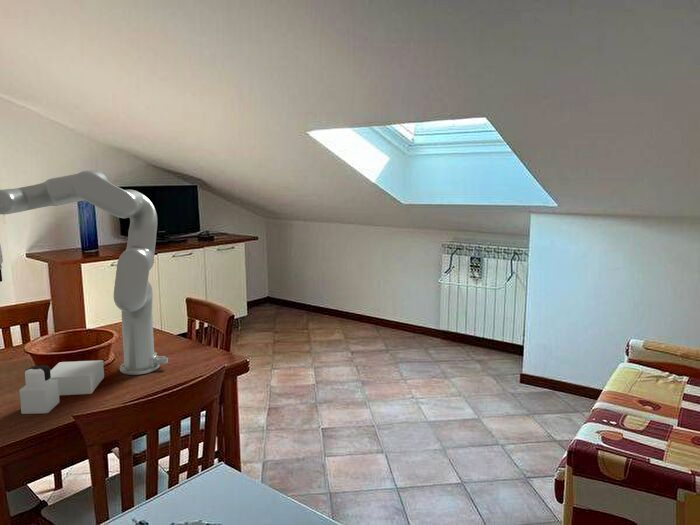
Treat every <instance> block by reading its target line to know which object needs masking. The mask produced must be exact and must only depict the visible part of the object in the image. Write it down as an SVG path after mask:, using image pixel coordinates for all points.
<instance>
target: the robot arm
mask: <svg viewBox="0 0 700 525" xmlns="http://www.w3.org/2000/svg"><path fill="white" fill-rule="evenodd" d="M83 201H85V202H88V203H89V204H91V205H93V206H95V207H97V208H99V209H101V210H103V211H105V212H106V213H108V214H110V215H112V216H113V217H117V218H119V219H120V218H121V219H128V218H129V227H128V233H127V234H128V235H127V241H126V242H127V243H126V249H125V250H124V251H123V252H122V253H121V254H120V256H119V258H118V260H117V263H116V270H115V280H114V287H113V288H114V289H113V301H114V304H115V306H116V307H117V308H118V310H121V332H122V346H123V347H122V348H123V362H124V363H122V364H121V365H119V372H120V373H122V374H124V375H131V376H139V375H145V374H149V373H151V372H154V371H156V370H158V369H159V368H160V364H168V361H169V359H168V357H166V355H157V354H158V353H157V351H155V343H154V342H155V341H154V325H153V324H154V321H153V320H154V318H153V296H154V295H153V288H152V285H151V283H150V281H149V275H150V270H151V269H152V268H153V266H154V263H155V253H156V252H155V250H156V243H157V232H158V214H157V210H156V208H155V205H154V204H153V202H152V201H151V200H150V199H149V198H148V197H147V196H146V195H145V194H144V193H142V192H139V191H138V190H134V189H123V188H121V187H119V186H117V185H115V184H114V183H111V182H110V181H109V180H108V178H107V176H106V175H105V174H104V173H103V172H101V171H97V170H84V171H81V172H77V173H74V174H68V175H62V176H58V177H52V178H49V179H47V180H45V181H44V182H41V183H37V184H33V185H27V186H22V187H16V188H3V189H0V215H4V216H5V215H11V214H16V213H17V214H18V213H21V212H26V211H31V210H36V209H41V208H47V207H52V206H53V207H59V206H62V205H63V206H64V205H69V204H73V203H79V202H83ZM3 262H4V258H3V251H2V246H1V244H0V283H1V282H3V275H2V274H3V273H2V268H3V266H2V264H3Z"/></svg>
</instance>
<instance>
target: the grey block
mask: <svg viewBox="0 0 700 525" xmlns="http://www.w3.org/2000/svg"><path fill="white" fill-rule="evenodd" d="M104 370H105V369H104V360H98V359H97V360H77V361H61V362H60V361H59V362H58V363H57V364H56V365H55V366H54V367H53V368H52V369H50V374H51V380H58V389H59V396H71V395H72V396H73V395H91V394H93V392H94V391H95V389H97V387H98V386H99V385H100V383H101V382H102V380H104V378H105V371H104Z"/></svg>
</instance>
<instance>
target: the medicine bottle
mask: <svg viewBox="0 0 700 525" xmlns="http://www.w3.org/2000/svg"><path fill="white" fill-rule="evenodd" d="M50 371H51V368H50V366H48V365H43V364H42V365H40V364H39V365H34V366H31V367H28V368H27V369H25V371H24V380H25V385H24V386H22V387H21V388H20V389H19V390H18V395H19V396H18V397H19V403H20V412H21V414H22V415H31V414H33V415H34V414H35V415H36V414H37V415H38V414H39V415H40V414H41V415H42V414H49V413H50V412H51V411H52V410H53V409H54V408H55V407H56V406H57V405H58V404H60V402H61V401H60V395H59V389H58V380H51V374H50Z"/></svg>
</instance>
